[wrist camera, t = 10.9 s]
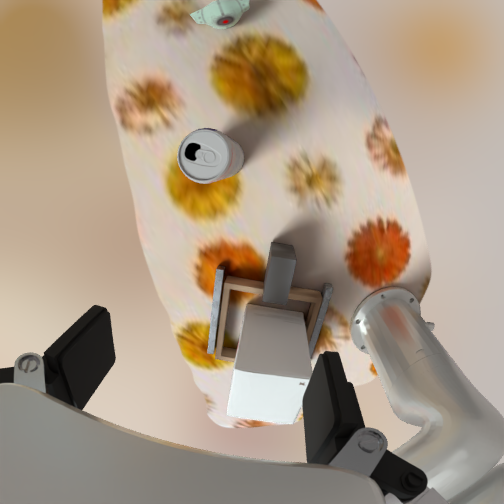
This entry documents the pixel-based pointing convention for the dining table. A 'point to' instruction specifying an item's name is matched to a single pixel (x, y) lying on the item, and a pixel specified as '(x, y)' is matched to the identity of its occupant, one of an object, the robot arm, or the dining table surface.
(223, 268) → the lane rails
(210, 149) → the energy drink
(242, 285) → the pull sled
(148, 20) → the dining table surface
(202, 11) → the robot head
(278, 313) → the supplement box
